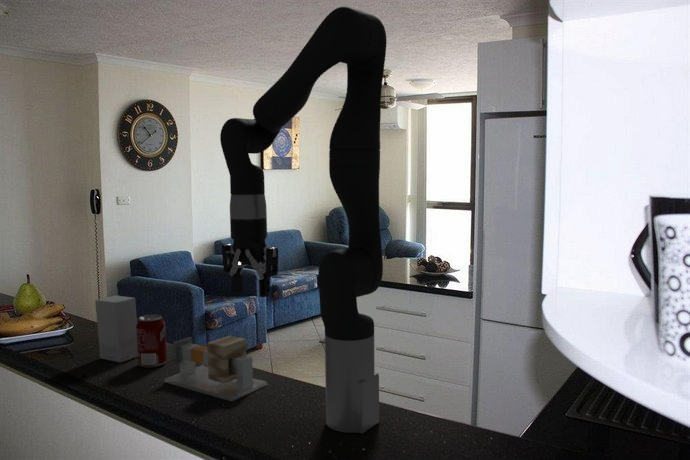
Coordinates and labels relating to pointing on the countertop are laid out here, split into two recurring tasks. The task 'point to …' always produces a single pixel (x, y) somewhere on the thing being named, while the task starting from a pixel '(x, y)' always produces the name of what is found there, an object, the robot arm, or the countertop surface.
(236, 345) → the tan notched block
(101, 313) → the skincare box
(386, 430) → the countertop surface
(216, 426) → the countertop surface
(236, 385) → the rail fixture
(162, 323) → the soda can
